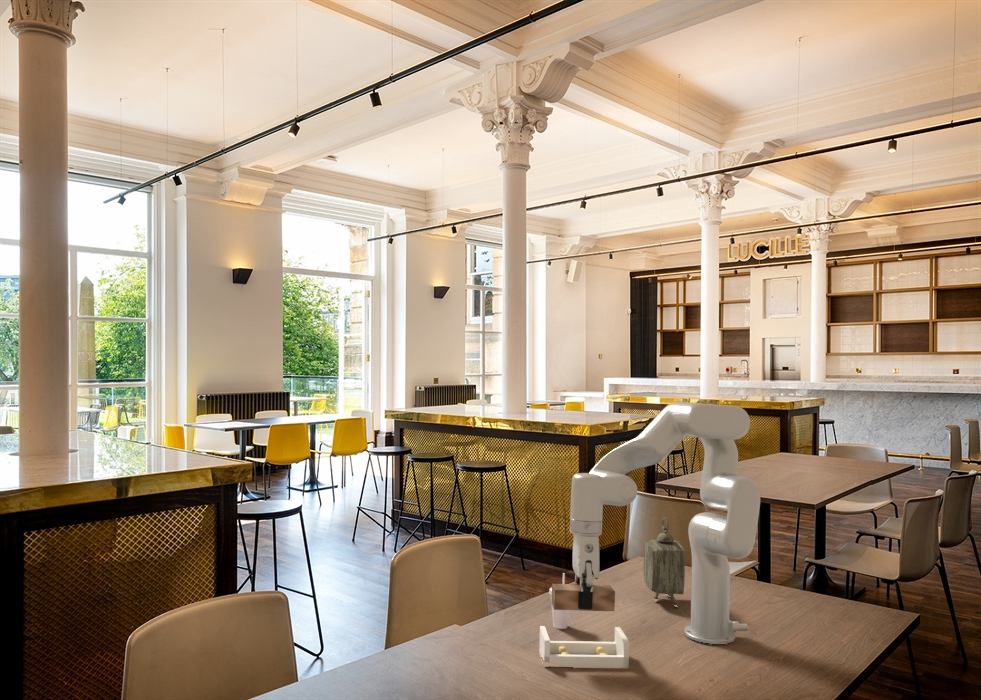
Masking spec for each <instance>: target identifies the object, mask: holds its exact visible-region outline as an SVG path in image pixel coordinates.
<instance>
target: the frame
mask: <svg viewBox="0 0 981 700" xmlns="http://www.w3.org/2000/svg"><path fill="white" fill-rule="evenodd" d="M538 642H539V644H538V649H539V650H538V653H539V655H540V658H541V657H542V658H543V660H544V662H549V663H556V664H561V665H564V666H568V667H573V669H576V668H578V669H580V668H581V669H629V667H630V664H629V663H630V640H629V639H628V637H627V636H626V633H624V631H623V629H621V627H620V626H614V640H613V641H592V640H591V641H588V640H587V641H586V640H585V641H584V640H581V641H578V640H574V641H573V640H570V641H569V640H551V639H550V636H549V634H548V631H547V628H546V626H545V625H540V626H539V641H538Z"/></svg>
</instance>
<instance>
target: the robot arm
mask: <svg viewBox="0 0 981 700" xmlns="http://www.w3.org/2000/svg"><path fill="white" fill-rule="evenodd" d="M750 426H751V419H750V416H749V414H748V412H747V411H746V410H745V409H743V407H740V406H737V405H727V404H715V403H714V404H713V403H704V402H703V403H701V402H691V401H690V402H687V401H675V402H671V403H669V404H667V405H666V406H665V407H664V408H663V409H662V410H661V411H660V412H659V413H658V414H657V416H655V417H654V418H653V419H652V421H651V422H650V423H649V424H648V425H647V426H646V427H645V428H644V429H643V431H641V432H640V433H639V434H638V435H637V436H635V438H632V439H630V440H628V441H626V442H625V443H623V444H621V445H620V446H617V447H615V448H614V449H612V450H611V451H610V452H608V453H607V454H606V455H604V456H603V457H602V458H600V460H598V462H597V463H596V464H595V465H594V466H593V467H592V468H591V469H590V471H589V472H579V473H576V474H573V475H572V478H571V485H570V486H571V488H570V489H571V490H570V512H569V513H570V514H569V515H570V517H569V532H570V534H573V536H572V537H573V538H572V539H573V542H572V570H573V571H574V573H575V575H574V584H577V585H580V591H579V596H578V608H579V609H589V610H591V609H592V601H593V585H594V584H593V582H594V580H593V578H594V579H595V580H598V579H600V539H599V538H600V537H599V536H601V535H602V534H603V509H604V508H603V506H604V505H608V506H615V507H624V506H628V505H630V504H632V502H634V500H635V499H636V497H638V496H637V495H638V486H637V483H636V482H635V480H633V479H632V478H631V477H630V476H628V475H626V474H628V473H630V472H632V471H635V470H637V469H640V468H645V467H649V466H653V465H656V464H660V463H662V462H663V461H664V460H666V458H667V457H668V456H669V455H670V454H671V453H672V451H674V449H676V447H677V446H678V445H679V444H680V442H682V440H683V439H685V438H686V437H692V438H699V439H700V441H701V443H702V446H703V450H704V457H703V466H702V467H703V468H702V474H701V481H700V486H699V487H700V489H699V497H700V500H701V502H702V503H703V504H704V505H706V506H708V507H709V508H713V509H716V510H721V511H725V512H727V515H726V516H725V515H722V514H718V513H713V512H705V511H704V512H700V513H696V514H695V515H694V516H693V517H692V518H691V520H690V521H689V523H688V529H687V531H688V532H687V533H688V539H689V546H690V553H691V581H690V582H691V585H690V586H691V589H690V590H691V591H690V592H691V595H690V601H691V602H690V624H688V625H686V626H685V627H684V630H683V631H684V635H685V636H686V637H687V639H690V640H693V641H694V640H695V642H697V641H698V643H701V642H703V643H702V644H705V643H711V644H710V645H712V644H722V643H723V644H724V643H729V642H731V641H733V640H734V639H735V640H736V634H735V633H736V632H748V631H749V626H748V624H747V623H739V621H736V620H735V621H733V620H731V619H730V595H731V594H730V591H731V589H730V584H731V583H730V582H731V581H730V580H731V568H730V562H729V560H728V558H732V559H735V560H736V559H737V560H741V559H745V558H747V557H748V556H749V555H750V554H751V553H752V551H753V549H754V545H755V543H756V537H757V531H758V530H757V529H758V524H759V523H758V522H759V516H760V510H761V509H760V507H761V493H760V490H759V487H758V485H757V484H756V482H755V481H754V480H752V479H751V478H750V477H747V476H744V475H739V474H738V465H739V464H738V463H739V451H738V447H737V444H736V443H735V440H740V439H741V438H743V437H745V436H746V434H747V433H748V432H749V430H750Z"/></svg>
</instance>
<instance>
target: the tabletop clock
mask: <svg viewBox="0 0 981 700" xmlns="http://www.w3.org/2000/svg"><path fill="white" fill-rule="evenodd" d="M664 523H666V526H664ZM669 525H670V524H669V520H668V518H667V517H665V516H664V517H663V518H662V519H661V527H662V528H661V529H662V532H660V533H659V534H658V535H657V536H656V539H650V540H648V541H645V542H644V548H643V580H644V583H645V585H646V587H647V588H648V589H649V591H652V592H654V593H655V596H653V598H654V599H658V598H659V595H661V594H663V595H665V594H668V595H669V597H670V598H671V600H672V602H673V604H674V605H677V606H678V605H679V606H680V604H679V603H678V602H677V601H676V600H675V596H674V595H683V594H684V591H685V576H686V573H685V572H686V570H685V569H686V561H685V560H686V559H685V557H686V556H685V549H684V547H683V546H682V545H681V543H680V542H679V541H677V540H674V537H673V535H672V534H670V533H668V532H669V530H670V529H669Z"/></svg>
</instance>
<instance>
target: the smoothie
mask: <svg viewBox="0 0 981 700" xmlns="http://www.w3.org/2000/svg"><path fill="white" fill-rule="evenodd" d="M565 580H566V574H565V572H563V573H562V584H566V583H565V582H566V581H565ZM548 591H549V595H550V601H551V600H552V586H551V587H550V588H549V590H548ZM550 603H551V602H550ZM570 612H571V610H554V608H553V605H552V603H551V614H552V615H551V616H552V624H553V625H552V626H553V628H555V629H556V630H557V629H558V630H565V629H567V628H568V627H569V626H568V624H569V618H570Z"/></svg>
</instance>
